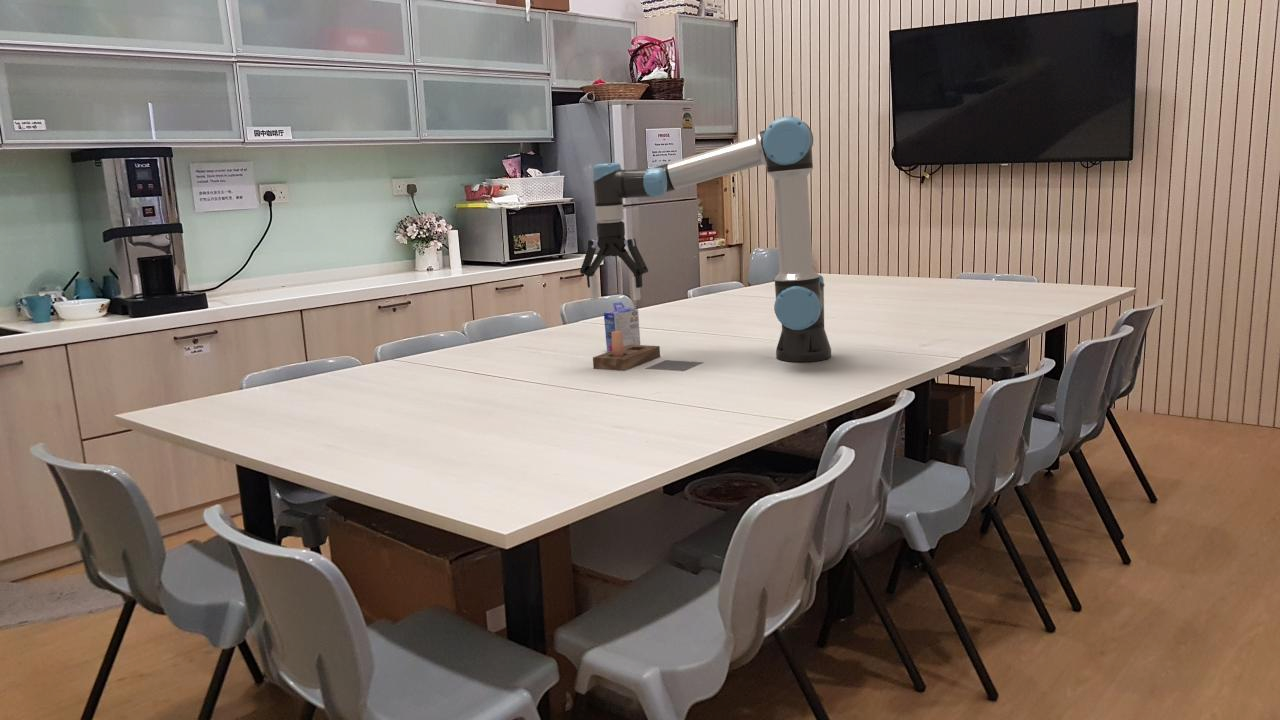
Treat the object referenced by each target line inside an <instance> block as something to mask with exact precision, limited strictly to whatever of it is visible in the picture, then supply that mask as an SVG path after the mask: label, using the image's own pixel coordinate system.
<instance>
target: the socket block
mask: <svg viewBox="0 0 1280 720" xmlns="http://www.w3.org/2000/svg"><path fill="white" fill-rule="evenodd" d="M660 348H661V347H660V345H645V344H643V345H642V344H640V345H627V346H624V347H623V356H622V357H613V353H612V351H610V352H607V351H606V352H605V353H601V354H599V355H596V356H593V357H592V366H593V369H594V370H607V371H608V370H609V371H623V372H624V371H628V370H630V369H634V368H635V367H638V366H641V365H644V364H646V363H648V362H651V361H653V360H655V359H658V358H660V357H661V351H660V350H661V349H660Z"/></svg>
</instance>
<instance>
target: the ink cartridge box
mask: <svg viewBox="0 0 1280 720" xmlns="http://www.w3.org/2000/svg"><path fill="white" fill-rule="evenodd" d="M618 305H619V306H618ZM617 306H618V307H617ZM612 307H613V309H614V310H612V311H607V312H603V319H604V320H603V321H604V329H605V330H604V331H605V344H606V353H607V352H610V351H612V334H611V332H613V331H622V336H623V347H624V346H627V345H641V333H640V318H639V317H640V316H639V309H637V308H630V307H629V308H625V305H624V303H623V302H622V301H619V302H613V303H612Z"/></svg>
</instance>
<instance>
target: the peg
mask: <svg viewBox="0 0 1280 720" xmlns="http://www.w3.org/2000/svg"><path fill="white" fill-rule="evenodd" d="M611 334H612V353H613V357H622V356H623V336H622V331H613V332H611Z"/></svg>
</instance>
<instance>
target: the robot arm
mask: <svg viewBox="0 0 1280 720" xmlns="http://www.w3.org/2000/svg"><path fill="white" fill-rule="evenodd" d="M813 145H814V134H813V132H812V129H811V128H810V126H809V125H808V123H806V122H805V121H803V120H802V119H800V118H799V117H795V116H791V115H790V116H787V115H786V116H783V117H779V118H776V119H774V121H772V122H771V123H770V124H769V125H768V126H767V128H766V129H764V130H762V131H761V130H760V131H759V132H758V133H757V134H756V136H755V137H752V138H747V139H745V140H741V141H737V142H735V143H732V144H727V145H725V146H721V147H718V148H715V149H712V150H708V151H704V152H701V153H698V154H694V155H690V156H688V157H685V158H681V159H678V160H674V161H671V162H668V163H664V164H659V165H657V166H654V167H646V168H635V169H634V168H633V169H622V167H621V164H620V163H619V162H611V163H609V162H608V163H598V164H597V163H596V164H595V165H594V166H593V170H592V172H593V176H592V177H593V181H592V183H593V193H594V203H595V204H594V209H595V220H596V221H597V223H596V234H597V235H596V236H597V238H598V240H596V239H591V240H587V249H586V253H585V256H584V258H583V261H582V265H581V267H580V270H579V273H580V275H581V274H582V275H585V276H586V281H587V283H586V284H587V288H589V290H590V294H589V295H590V300H591V301H594V300H598V299H599V290H598V289H599V288H598V277H597V275H596V272H597V270H598V269H599V267H600V266H601V264H602V263H603V261H604V259H605V258H606V257H619V258H620V259H621V260H622V261H623V262H624V264H625V265H626V266H627V268H628V269H629V270H630V271H631V273H632V274H633V276H632V275H631V282H632V283H631V284H632V286H631V287H632V299H633V301H639V300H642V297H641V288H642V287H643V275H644V274H646V273H648V272H649V268H648V267H647V263H645V261H644V258H643V256H642V254H641V252H640V250H639V249H638V246H637V240H636V239H635V238H629V239H626V238H625V237H626V236H625V234H626V233H625V232H626V231H625V230H626V229H625V222H624V221H623V220H624V219H625V215H624V201H623V200H624V199H630V198H632V199H635V198H636V199H637V198H657V197H663V196H665V195H666V193H668V192H672V191H675V190H679V189H682V188H685V187H689V186H693V185H696V184H700V183H705V182H706V181H711V180H714V179H716V178H721V177H724V176H727V175H731V174H734V173H738V172H741V171H745V170H750V169H751V168H756V167H760V166H765V167H766V174H768V175H769V176H770V177H771V178H772V179H773V189H774V203H775V204H774V205H775V217H776V218H775V219H776V232H777V234H776V235H777V236H776V237H777V249H778V251H777V252H778V263H779V265H778V266H779V273H778V274H777V275H776V276H775V277H774V288H775V289H774V291H775V301H774V304H773V308H774V314H775V316H776V318H777V320H778V321H779V323H781V332H780V336H779V339H778V342H777V345H776V348H775V349H776V350H775V356H776V357H775V358H776V359H778V360H780V361H784V362H791V363H792V362H793V363H795V362H796V363H800V362H801V363H805V362H806V363H807V362H818V361H824V360H827V359H831V357H832V347H831V344H830V341H829V339H828V335H827V332H826V330H825V329H826V328H825V291H824V290H825V289H824V288H825V283H824V276H822V275H821V274H819V273H818V272H817V271H816V270H814V265H813V263H814V262H813V248H812V247H813V245H812V244H813V243H812V233H811V231H812V230H811V215H810V213H811V212H810V199H809V198H810V197H809V182H808V180H809V179H808V177H809V175H810V174H811V172H812V171H813V169H814V165H813V149H812V148H813ZM597 248H599V251H598V252H597V251H596V250H597ZM626 248H628V251H629V252H630V254H629V252H628V251H627V249H626ZM596 252H597V253H596ZM595 253H596V256H595ZM630 255H631V256H630ZM594 256H595V258H594ZM593 259H594V260H593Z"/></svg>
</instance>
